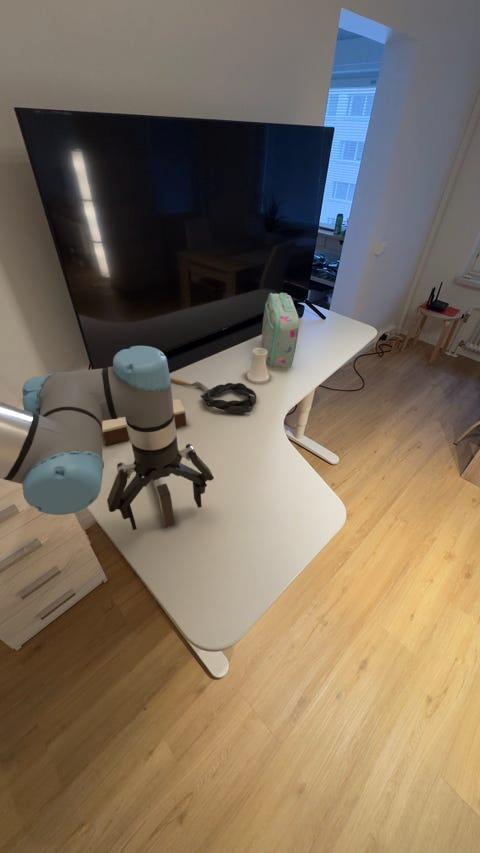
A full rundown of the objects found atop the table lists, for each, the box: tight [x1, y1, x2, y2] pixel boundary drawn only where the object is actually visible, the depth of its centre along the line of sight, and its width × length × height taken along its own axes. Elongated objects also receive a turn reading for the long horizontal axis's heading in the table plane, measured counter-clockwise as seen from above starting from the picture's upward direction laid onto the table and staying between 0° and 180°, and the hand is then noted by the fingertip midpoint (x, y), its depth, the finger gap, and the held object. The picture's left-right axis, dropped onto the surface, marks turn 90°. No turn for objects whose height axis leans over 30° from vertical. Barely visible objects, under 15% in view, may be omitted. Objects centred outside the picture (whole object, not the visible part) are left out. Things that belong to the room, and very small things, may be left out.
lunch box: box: [260, 292, 300, 368], centre depth 124 cm, size 27×10×21 cm, turn 3°
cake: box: [102, 417, 131, 447], centre depth 91 cm, size 6×6×6 cm
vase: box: [246, 347, 270, 384], centre depth 115 cm, size 8×8×10 cm
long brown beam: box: [151, 479, 176, 528], centre depth 74 cm, size 2×17×10 cm, turn 25°
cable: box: [200, 382, 257, 415], centre depth 105 cm, size 17×14×4 cm
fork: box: [170, 376, 209, 392], centre depth 112 cm, size 2×2×20 cm
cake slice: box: [172, 398, 187, 429], centre depth 96 cm, size 5×6×6 cm
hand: (166, 513), depth 71 cm, fingers open, 13 cm apart
